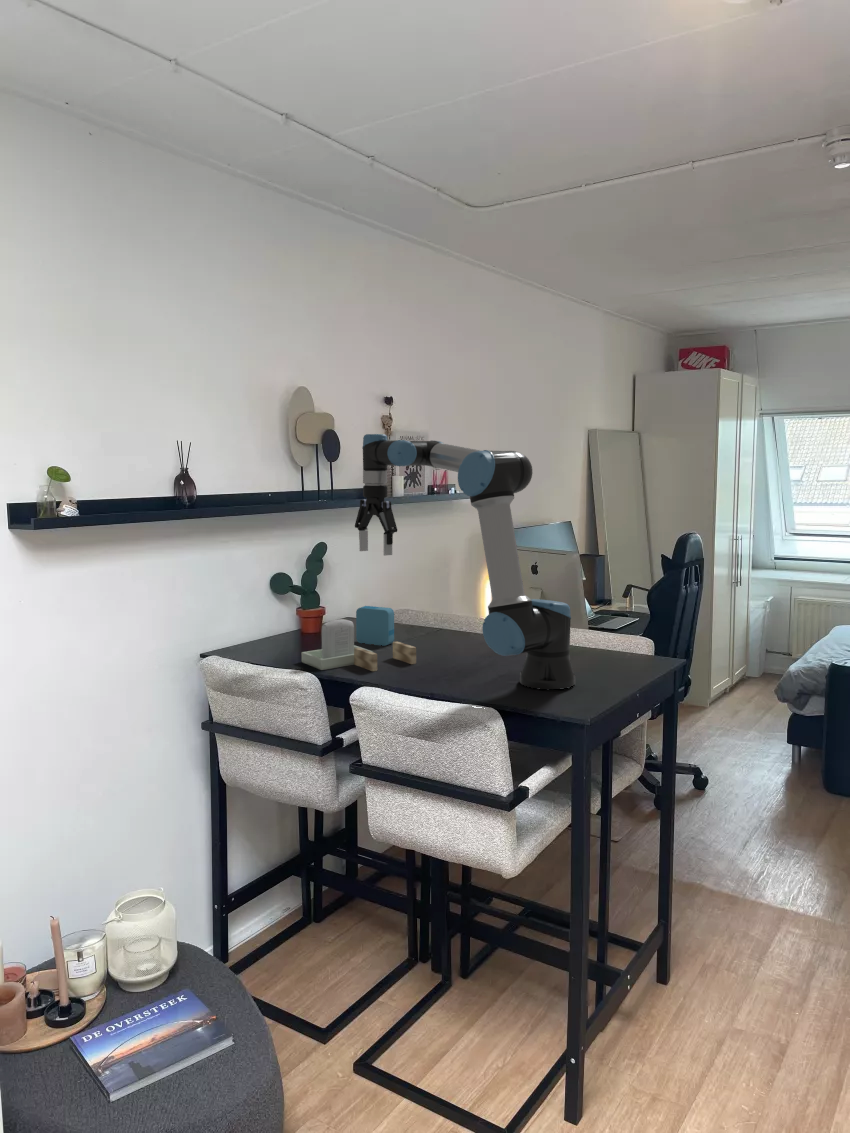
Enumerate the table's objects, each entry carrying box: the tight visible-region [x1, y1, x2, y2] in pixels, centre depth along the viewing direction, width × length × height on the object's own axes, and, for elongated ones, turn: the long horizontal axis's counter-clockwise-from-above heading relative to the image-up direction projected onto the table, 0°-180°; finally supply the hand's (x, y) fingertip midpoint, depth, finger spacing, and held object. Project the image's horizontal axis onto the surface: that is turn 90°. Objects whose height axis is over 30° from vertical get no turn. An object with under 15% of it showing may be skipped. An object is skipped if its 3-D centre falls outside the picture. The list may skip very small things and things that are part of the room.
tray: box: [301, 644, 374, 671], centre depth 257 cm, size 12×18×3 cm, turn 127°
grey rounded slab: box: [321, 618, 355, 659], centre depth 256 cm, size 10×4×12 cm, turn 126°
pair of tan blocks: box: [353, 640, 417, 672], centre depth 254 cm, size 10×16×5 cm, turn 127°
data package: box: [355, 605, 395, 647], centre depth 281 cm, size 12×4×12 cm, turn 66°
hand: (375, 553), depth 265 cm, fingers open, 13 cm apart
